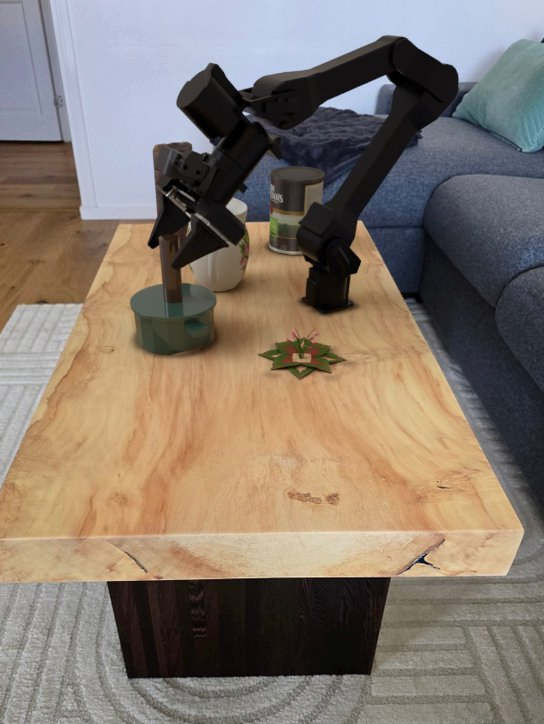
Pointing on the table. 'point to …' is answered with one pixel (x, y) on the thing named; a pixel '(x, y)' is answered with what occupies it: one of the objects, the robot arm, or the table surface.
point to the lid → (172, 291)
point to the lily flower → (295, 347)
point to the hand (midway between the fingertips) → (161, 257)
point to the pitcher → (224, 257)
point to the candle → (157, 174)
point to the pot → (175, 334)
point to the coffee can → (291, 204)
